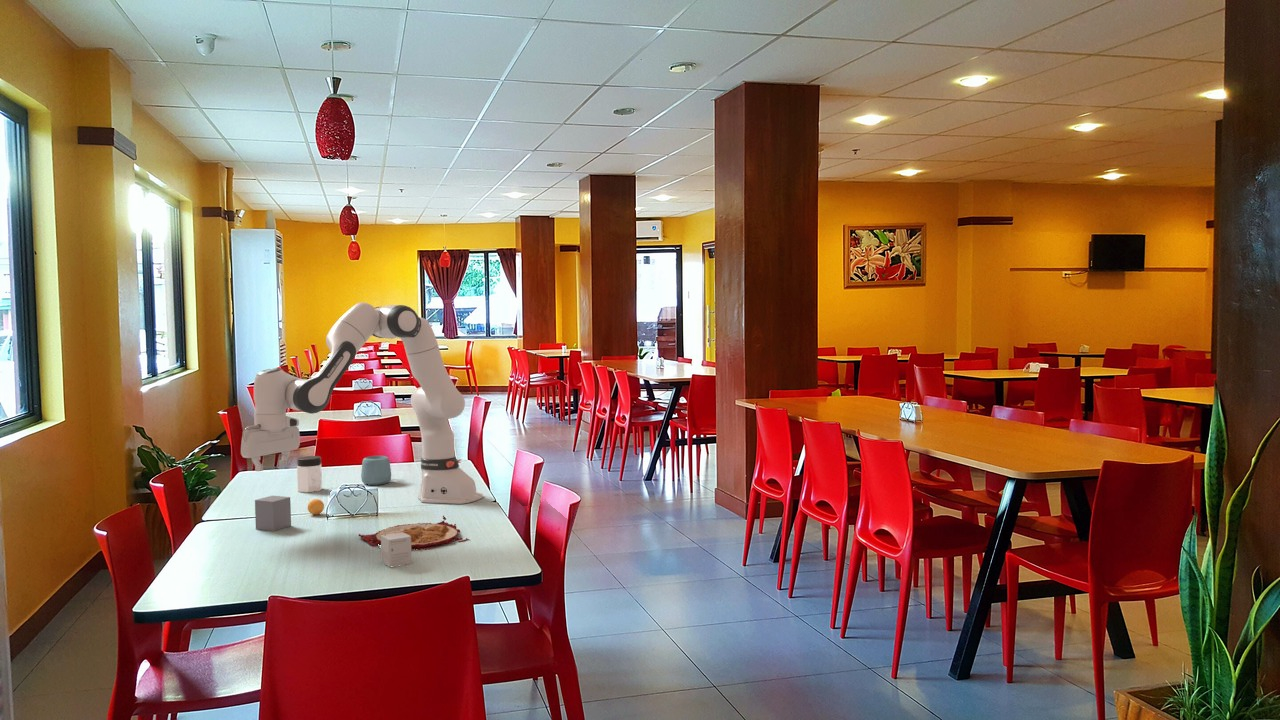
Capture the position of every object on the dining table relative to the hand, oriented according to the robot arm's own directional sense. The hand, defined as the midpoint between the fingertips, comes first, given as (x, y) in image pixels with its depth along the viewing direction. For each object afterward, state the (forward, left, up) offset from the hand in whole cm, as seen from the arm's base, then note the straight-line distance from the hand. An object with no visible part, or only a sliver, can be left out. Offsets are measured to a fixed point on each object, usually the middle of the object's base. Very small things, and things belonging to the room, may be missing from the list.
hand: (271, 468), depth 267 cm
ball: (0, -18, -16) cm, 24 cm away
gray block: (0, 0, -18) cm, 18 cm away
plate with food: (-50, -4, -19) cm, 54 cm away
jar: (+30, -48, -18) cm, 60 cm away
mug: (+16, -69, -18) cm, 73 cm away
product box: (-59, +18, -18) cm, 64 cm away
